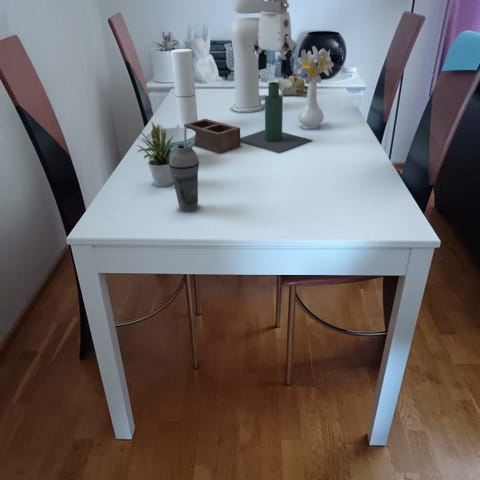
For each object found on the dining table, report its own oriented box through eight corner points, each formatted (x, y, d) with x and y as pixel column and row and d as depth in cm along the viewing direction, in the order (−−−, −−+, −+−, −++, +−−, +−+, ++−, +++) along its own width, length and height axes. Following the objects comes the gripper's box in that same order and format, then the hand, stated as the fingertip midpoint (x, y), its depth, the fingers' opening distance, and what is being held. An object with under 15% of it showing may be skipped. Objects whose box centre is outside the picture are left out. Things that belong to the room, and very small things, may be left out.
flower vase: (297, 136, 169) (300, 54, 154) (290, 121, 183) (292, 45, 168) (334, 134, 169) (341, 52, 154) (324, 119, 184) (329, 43, 169)
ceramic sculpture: (278, 70, 216) (312, 72, 215) (277, 91, 221) (310, 93, 220) (277, 75, 207) (313, 77, 206) (276, 97, 213) (310, 99, 212)
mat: (268, 129, 176) (268, 128, 175) (311, 140, 164) (311, 139, 164) (236, 140, 167) (236, 139, 167) (279, 153, 155) (279, 151, 155)
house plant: (131, 178, 142) (120, 119, 132) (176, 169, 146) (169, 112, 137) (143, 195, 132) (133, 133, 122) (191, 186, 136) (185, 125, 126)
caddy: (206, 136, 172) (205, 118, 169) (240, 146, 162) (240, 127, 158) (185, 142, 167) (183, 124, 164) (219, 153, 157) (218, 134, 153)
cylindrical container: (199, 122, 186) (193, 48, 171) (196, 128, 180) (189, 51, 165) (181, 123, 187) (173, 48, 172) (177, 128, 181) (169, 52, 166)
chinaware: (207, 158, 154) (205, 133, 149) (171, 171, 145) (168, 145, 141) (176, 149, 162) (173, 124, 158) (140, 161, 154) (136, 136, 149)
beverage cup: (174, 203, 127) (164, 123, 115) (202, 201, 127) (195, 121, 115) (174, 215, 121) (163, 132, 109) (203, 213, 121) (196, 130, 109)
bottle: (273, 135, 168) (273, 80, 158) (285, 139, 165) (286, 82, 155) (261, 139, 165) (261, 83, 155) (273, 143, 162) (274, 85, 152)
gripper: (305, 7, 140) (302, 72, 150) (261, 3, 150) (262, 65, 160) (287, 9, 136) (286, 77, 146) (244, 6, 146) (245, 69, 156)
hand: (273, 71), depth 153 cm, fingers open, 9 cm apart
